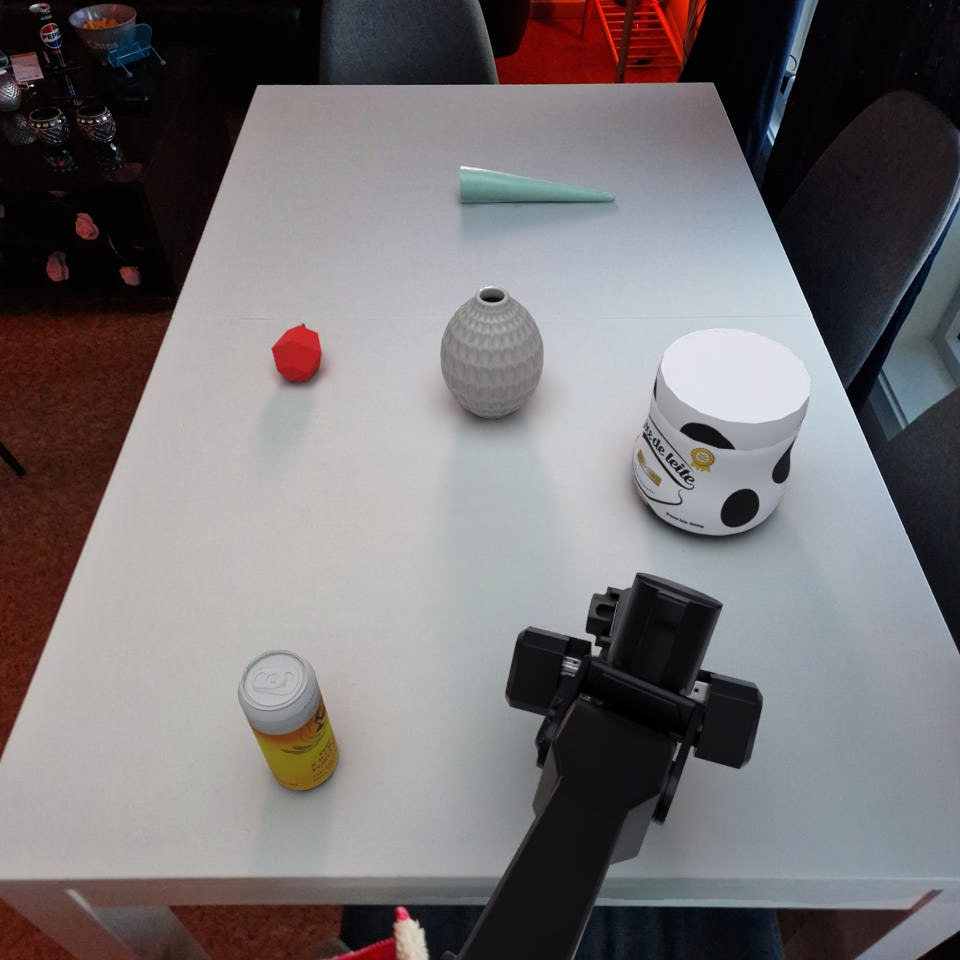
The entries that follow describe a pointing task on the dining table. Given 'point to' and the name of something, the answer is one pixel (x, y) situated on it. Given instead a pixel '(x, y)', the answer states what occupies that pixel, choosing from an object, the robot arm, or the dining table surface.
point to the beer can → (288, 718)
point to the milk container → (720, 431)
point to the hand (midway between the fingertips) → (632, 670)
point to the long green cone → (520, 188)
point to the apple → (297, 353)
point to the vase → (492, 354)
